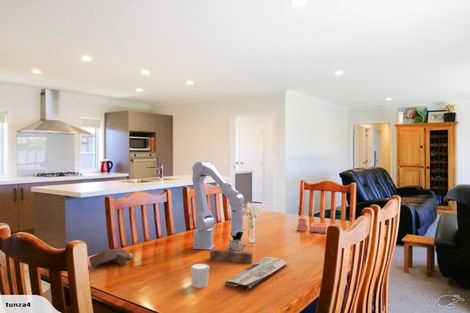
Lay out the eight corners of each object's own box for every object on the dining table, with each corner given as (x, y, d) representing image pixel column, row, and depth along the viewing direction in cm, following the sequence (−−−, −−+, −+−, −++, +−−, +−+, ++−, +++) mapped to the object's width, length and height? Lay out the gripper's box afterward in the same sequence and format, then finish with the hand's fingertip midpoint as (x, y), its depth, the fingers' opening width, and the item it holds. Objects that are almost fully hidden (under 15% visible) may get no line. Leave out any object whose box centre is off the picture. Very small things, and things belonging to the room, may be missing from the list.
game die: (239, 264, 160) (244, 251, 154) (222, 258, 161) (226, 244, 155) (243, 250, 167) (248, 237, 162) (227, 244, 168) (231, 231, 162)
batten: (210, 259, 156) (210, 251, 156) (211, 258, 158) (211, 249, 158) (251, 263, 151) (251, 254, 151) (252, 261, 153) (252, 252, 153)
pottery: (326, 230, 214) (326, 214, 214) (326, 233, 205) (326, 217, 205) (297, 228, 220) (297, 213, 219) (296, 231, 211) (296, 215, 210)
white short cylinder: (191, 281, 130) (191, 263, 129) (209, 281, 130) (209, 262, 130) (190, 289, 123) (190, 269, 123) (209, 288, 123) (209, 269, 123)
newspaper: (263, 260, 156) (263, 253, 156) (289, 265, 150) (289, 257, 150) (222, 287, 125) (222, 277, 125) (253, 294, 119) (253, 284, 119)
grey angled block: (138, 267, 154) (105, 274, 139) (118, 259, 161) (85, 264, 146) (141, 251, 155) (109, 255, 139) (122, 243, 162) (89, 247, 146)
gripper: (241, 222, 157) (241, 252, 158) (248, 216, 171) (248, 243, 172) (226, 221, 159) (227, 250, 159) (234, 216, 173) (234, 242, 173)
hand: (237, 247), depth 166 cm, fingers closed, pressing on game die
